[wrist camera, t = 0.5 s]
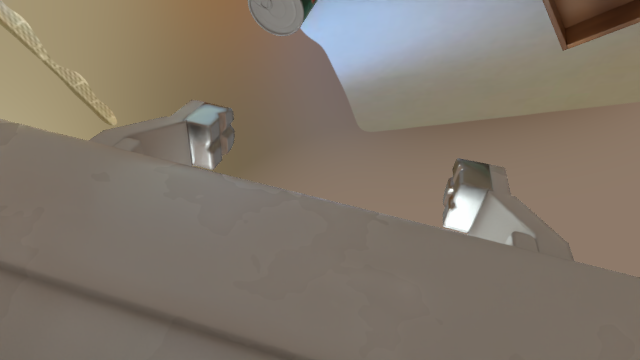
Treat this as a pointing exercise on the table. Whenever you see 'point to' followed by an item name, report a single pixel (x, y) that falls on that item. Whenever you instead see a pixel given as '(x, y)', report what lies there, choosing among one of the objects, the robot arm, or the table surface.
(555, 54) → the table surface
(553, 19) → the tray
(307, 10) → the canned tomato
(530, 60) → the table surface
